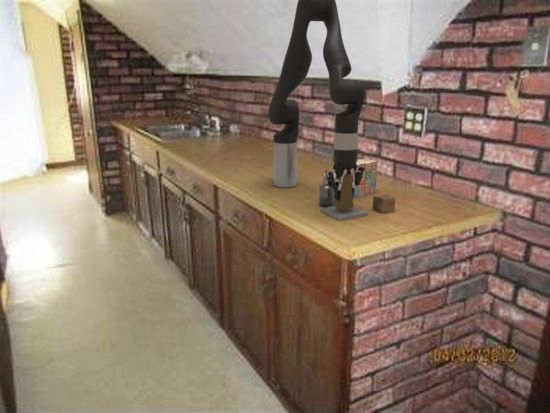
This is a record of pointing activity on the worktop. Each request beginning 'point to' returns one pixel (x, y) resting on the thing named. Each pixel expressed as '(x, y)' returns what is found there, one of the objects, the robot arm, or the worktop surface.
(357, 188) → the stack of blocks
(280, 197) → the worktop surface
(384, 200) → the walnut block
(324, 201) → the metal tin
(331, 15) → the robot arm
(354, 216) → the slate tile
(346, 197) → the brown rounded figure
